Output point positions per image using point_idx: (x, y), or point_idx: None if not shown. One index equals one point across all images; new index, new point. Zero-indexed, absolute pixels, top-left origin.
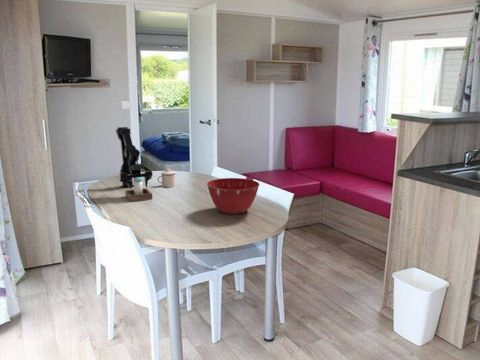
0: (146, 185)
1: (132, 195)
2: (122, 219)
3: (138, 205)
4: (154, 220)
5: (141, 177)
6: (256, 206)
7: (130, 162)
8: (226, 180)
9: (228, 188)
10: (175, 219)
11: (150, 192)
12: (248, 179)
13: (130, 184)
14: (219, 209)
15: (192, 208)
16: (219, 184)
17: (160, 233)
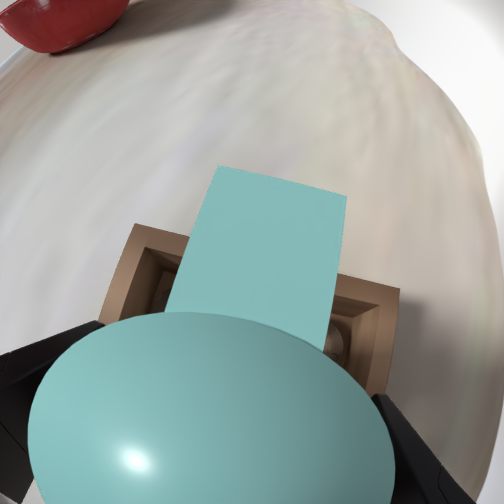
0: (87, 329)
1: (370, 285)
2: (434, 101)
3: None
4: (328, 39)
5: (34, 455)
6: (33, 51)
7: None
8: (2, 18)
9: (14, 34)
10: (261, 20)
11: (119, 276)
12: (3, 10)
13: (400, 444)
14: (121, 14)
15: (126, 57)
16: (23, 15)
17: (343, 10)
